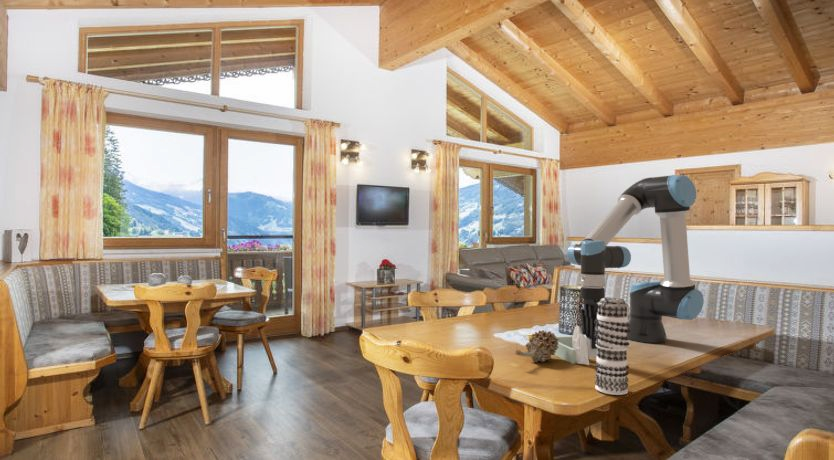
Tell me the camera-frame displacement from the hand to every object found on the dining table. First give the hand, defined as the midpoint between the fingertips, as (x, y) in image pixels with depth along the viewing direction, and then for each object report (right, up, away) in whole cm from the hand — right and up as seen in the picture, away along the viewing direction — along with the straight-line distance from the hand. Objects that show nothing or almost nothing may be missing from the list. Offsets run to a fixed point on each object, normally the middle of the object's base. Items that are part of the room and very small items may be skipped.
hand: (591, 357), depth 161 cm
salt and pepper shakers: (-3, -1, +1) cm, 4 cm away
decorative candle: (-5, -2, -28) cm, 29 cm away
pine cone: (-19, -1, -2) cm, 19 cm away
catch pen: (-2, -1, +8) cm, 8 cm away
